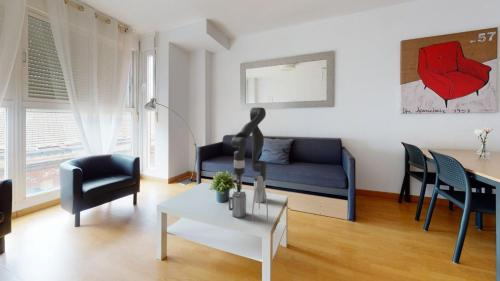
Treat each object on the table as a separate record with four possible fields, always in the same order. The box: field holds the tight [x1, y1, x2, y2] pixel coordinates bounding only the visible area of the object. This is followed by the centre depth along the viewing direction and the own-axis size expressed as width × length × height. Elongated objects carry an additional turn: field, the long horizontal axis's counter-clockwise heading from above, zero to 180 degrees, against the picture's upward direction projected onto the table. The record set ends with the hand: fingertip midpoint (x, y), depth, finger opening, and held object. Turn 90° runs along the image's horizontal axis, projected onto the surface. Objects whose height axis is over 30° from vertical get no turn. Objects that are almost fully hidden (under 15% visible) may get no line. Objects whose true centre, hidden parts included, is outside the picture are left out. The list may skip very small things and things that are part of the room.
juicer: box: [251, 176, 269, 222], centre depth 137 cm, size 10×9×30 cm
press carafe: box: [228, 191, 247, 219], centre depth 142 cm, size 9×12×15 cm
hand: (239, 190), depth 140 cm, fingers open, 3 cm apart
